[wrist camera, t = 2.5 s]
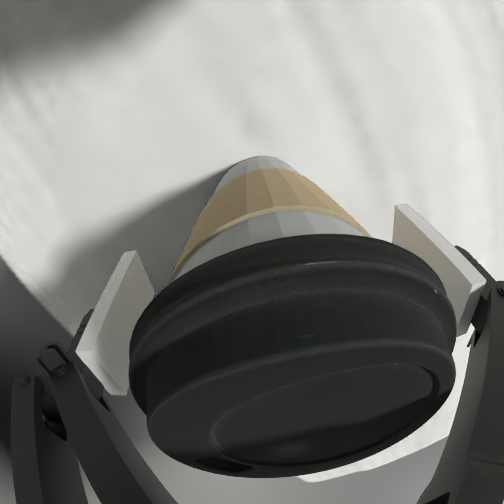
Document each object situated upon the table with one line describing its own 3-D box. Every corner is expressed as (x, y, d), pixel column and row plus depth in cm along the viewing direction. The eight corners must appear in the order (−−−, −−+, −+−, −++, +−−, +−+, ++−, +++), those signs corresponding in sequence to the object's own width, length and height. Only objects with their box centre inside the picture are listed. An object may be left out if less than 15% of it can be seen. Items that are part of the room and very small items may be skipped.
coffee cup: (170, 235, 20) (108, 459, 7) (221, 101, 15) (152, 202, 3) (293, 277, 22) (340, 480, 10) (359, 166, 18) (526, 342, 5)
